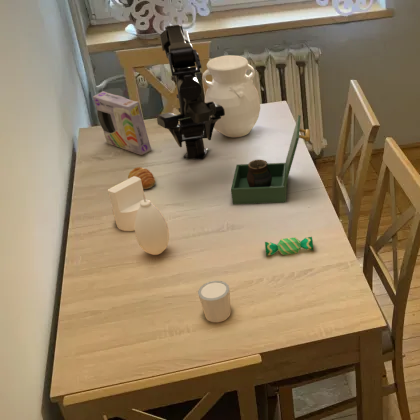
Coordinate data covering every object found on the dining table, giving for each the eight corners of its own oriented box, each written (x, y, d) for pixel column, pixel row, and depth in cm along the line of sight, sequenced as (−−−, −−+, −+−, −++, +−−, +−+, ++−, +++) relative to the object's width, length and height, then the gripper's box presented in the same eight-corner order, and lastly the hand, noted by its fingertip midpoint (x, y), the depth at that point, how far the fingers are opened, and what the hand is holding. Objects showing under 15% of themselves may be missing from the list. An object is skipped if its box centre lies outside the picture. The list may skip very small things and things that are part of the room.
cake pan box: (103, 142, 222) (90, 94, 212) (115, 137, 225) (103, 88, 216) (140, 157, 212) (128, 107, 203) (152, 151, 216) (141, 101, 206)
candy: (266, 256, 164) (264, 240, 164) (266, 256, 168) (264, 240, 168) (313, 251, 166) (312, 235, 166) (313, 251, 169) (311, 235, 169)
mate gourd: (269, 179, 197) (266, 149, 192) (276, 191, 191) (272, 161, 186) (245, 184, 195) (242, 154, 190) (251, 196, 189) (247, 166, 184)
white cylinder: (204, 304, 151) (199, 281, 147) (234, 302, 151) (230, 279, 147) (200, 325, 145) (196, 301, 141) (232, 323, 145) (228, 299, 142)
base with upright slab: (136, 209, 186) (127, 172, 179) (157, 219, 181) (149, 181, 175) (109, 224, 180) (99, 186, 173) (130, 234, 175) (121, 196, 169)
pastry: (162, 184, 197) (159, 173, 195) (141, 193, 193) (139, 182, 191) (146, 174, 203) (143, 163, 201) (126, 182, 199) (123, 171, 197)
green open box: (232, 204, 187) (230, 189, 184) (238, 178, 199) (236, 164, 197) (285, 202, 188) (284, 187, 185) (288, 176, 200) (286, 162, 197)
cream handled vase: (257, 116, 237) (249, 49, 224) (267, 138, 222) (260, 67, 209) (205, 124, 232) (194, 56, 219) (212, 147, 218) (201, 75, 204)
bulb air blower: (160, 264, 164) (147, 203, 154) (134, 258, 166) (119, 198, 157) (178, 246, 170) (166, 187, 160) (153, 241, 172) (139, 182, 163)
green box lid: (296, 137, 177) (311, 141, 177) (298, 114, 189) (312, 118, 190) (283, 185, 185) (297, 189, 185) (285, 161, 197) (298, 164, 198)
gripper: (169, 103, 175) (177, 158, 181) (231, 90, 185) (236, 143, 192) (152, 95, 183) (160, 148, 189) (212, 83, 193) (218, 134, 200)
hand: (195, 143), depth 192 cm, fingers open, 9 cm apart
